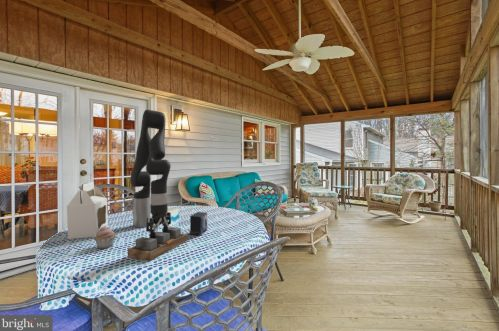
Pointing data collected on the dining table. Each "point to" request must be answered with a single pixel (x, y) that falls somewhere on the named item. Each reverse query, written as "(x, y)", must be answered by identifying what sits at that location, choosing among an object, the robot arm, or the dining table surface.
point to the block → (162, 237)
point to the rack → (156, 245)
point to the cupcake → (105, 237)
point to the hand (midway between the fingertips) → (159, 237)
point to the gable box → (87, 212)
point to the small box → (198, 223)
